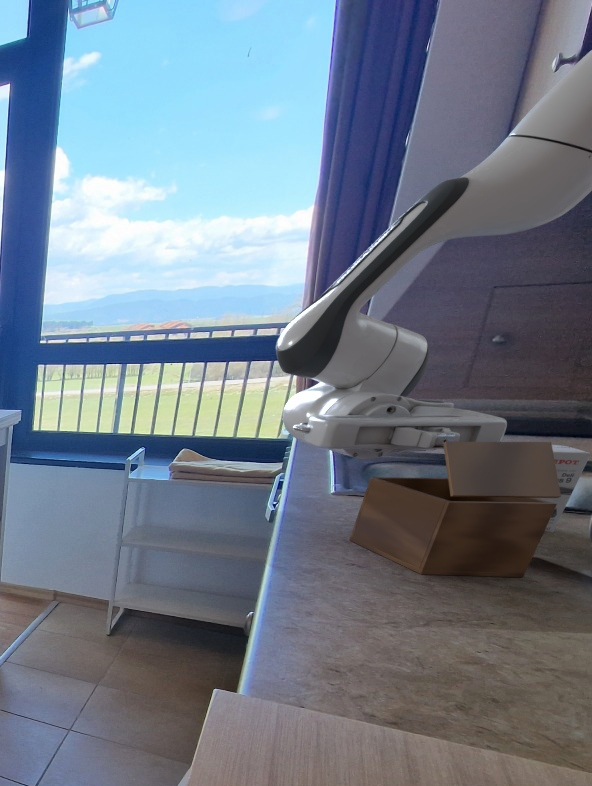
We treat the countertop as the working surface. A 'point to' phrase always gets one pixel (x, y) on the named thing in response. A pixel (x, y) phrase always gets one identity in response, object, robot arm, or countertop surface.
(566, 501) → the ink box
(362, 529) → the carton
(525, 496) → the flap
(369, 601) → the countertop surface
